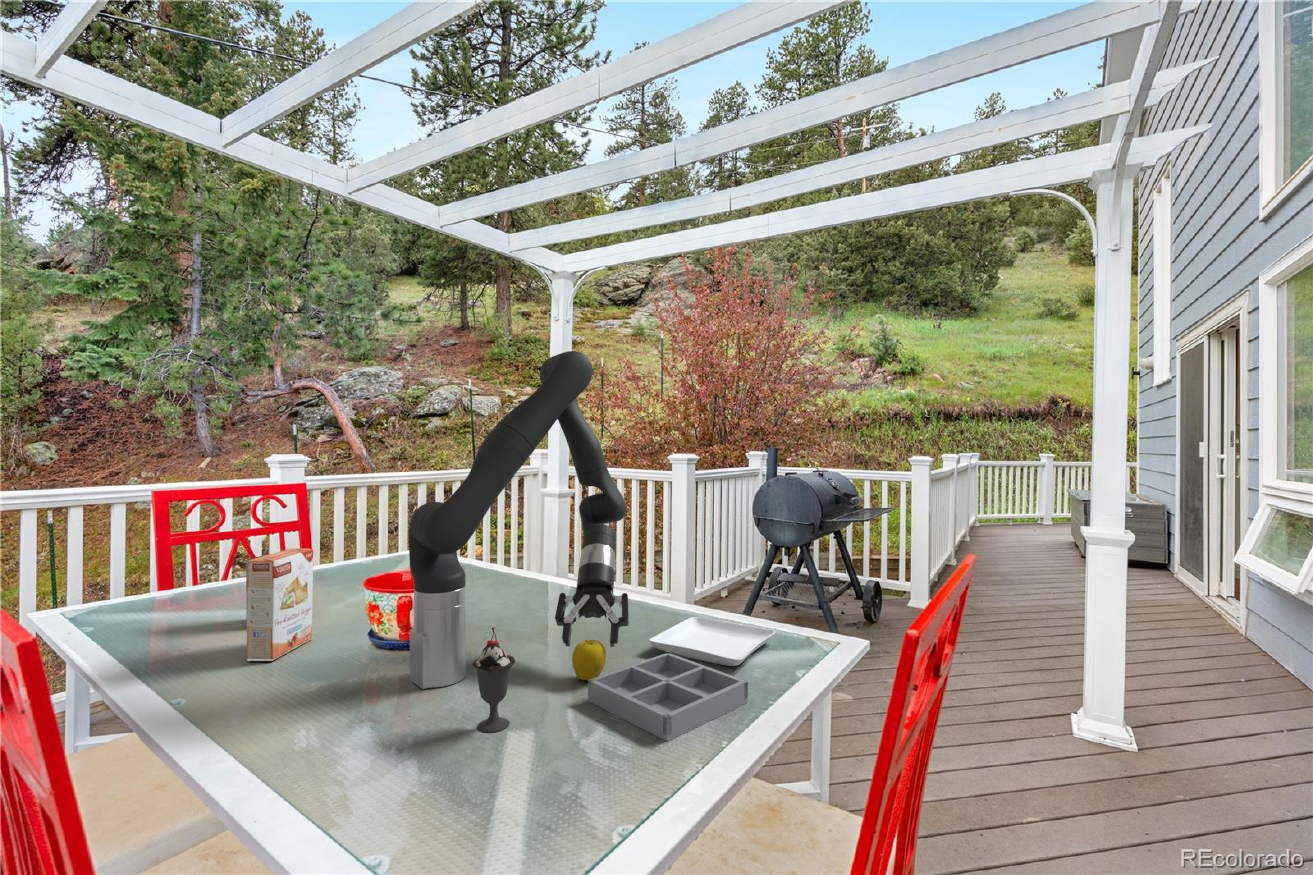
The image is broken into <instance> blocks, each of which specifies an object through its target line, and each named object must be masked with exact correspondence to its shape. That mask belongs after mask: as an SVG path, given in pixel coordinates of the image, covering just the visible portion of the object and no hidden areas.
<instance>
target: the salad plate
mask: <svg viewBox="0 0 1313 875" xmlns="http://www.w3.org/2000/svg"><path fill="white" fill-rule="evenodd" d="M775 634H776V631H775V630H772V629H769V628H762V627H758V626H757V627H756V626H752V625H747V624H740V623H738V622H737V623H736V622H730V621H726V620H725V621H724V620H719V619H718V620H717V619H712V618H706V617H699V616H691V617H689V618H687V619H684V620H683V621H681V622H679V623H677V624H675V625H673V626H672V627H669V628H667V629H665V630H663V631H661V632H660V633H657V634H656V635H655V636H653V637H651V638H649V639H648V641H649V643H650V644H651V645H652V646H653V647H655V648H656V649H658V650H659V651H662V652H665V653H671V654H673V655H676V656H679V657H682V658H685V659H687V658H688V659H692V660H697V661H701V662H706V663H710V664H711V663H712V664H716V665H722V666H729V667H735V666H739V665H741V664H742V663H743V662H744V661H745V660H746V659H747V658H748V657H749V656H751V654H753V653H754V652H755V651H756V650H757V649H759V648H760V647H762V646H763V645H765V644H767V643H768V642H769V641H770V640H771V639H772V638H773V637H774V636H775Z"/></svg>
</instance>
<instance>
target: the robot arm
mask: <svg viewBox="0 0 1313 875" xmlns="http://www.w3.org/2000/svg"><path fill="white" fill-rule="evenodd" d="M592 377H593V366H592V362H591V359H590V358H589V357H588V356H587V355H586V354H585V353H583V352H580V351H577V350H569V351H567V350H566V351H564V352H561V353H559V354H555V355H553V356H550V357H548V358H547V359H545V360H544V361H543V362H542V364H541V366H540V369H539V379H540V383H541V384H540V386H539V387H538V388H537V389H536V390H535V391H534V392H533V393H532V394H530V396H528V397H527V398H526V399H525V400H523V401H522V402H521V403H519V404H518V405H516V406H515V407H514V408H513V409H511V411H509V412H508V413H507V414H506V415H505V416H503V417H502V418H501V419H500V420H499V421H498V422H497V424H495V426H494V427H493V429H491V431H490V432H489V433H488V434H487V436H485V438H484V440H483V441H482V442H481V444H480V446H479V447H478V450H477V452H476V455H475V458H474V460H473V463H472V466H471V468H470V471H469V473H468V475H467V476H466V478H465V479H464V481H462V483H461V484H460V485H459V487H457V489H456V490H455V491H454V492H453V493H452V495H450V497H448V498H447V500H445V501H444V502H440V501H430V502H425V503H423V504H421V505H420V506H419V507H418V508H416V509H415V511H414V512H413V513H412V516H411V518H410V522H409V525H408V526H409V527H408V552H409V554H408V555H409V569H410V574H411V578H412V580H413V628H411V629H410V630H409V681H411V682H412V683H414V684H415V685H416V686H418V687H419V688H420V689H422V690H425V689H428V688H429V689H430V688H440V687H446V686H451V685H454V684H456V683H459V682H461V681H462V680H463V679H464V678H465V677H466V675H467V674H466V668H467V667H466V666H467V663H466V662H467V661H466V659H467V658H466V650H467V648H466V572H465V570H464V568H463V567H462V565H461V564H460V561H459V558H458V551H459V550H461V549H463V547H464V546H465V545H467V543H468V542H469V541H470V539H471V538H472V537H473V535H474V533H475V532H476V530H477V529H478V527H479V525H480V524H481V522H482V521H483V519H484V518H485V516H486V515H487V513H488V511H489V510H490V508H491V507H492V506H493V503H494V502H495V501H496V499H497V498H498V497H499V495H500V494H501V493H502V492H503V491H504V489H505V488H506V487H507V485H508V484H509V483H510V482H511V480H512V479H513V478H514V477H515V475H516V474H517V472H519V470H520V469H521V468H522V467H523V465H524V464H525V463H526V462H527V460H528V459H529V458H530V457H531V456H532V455H533V453H534V452H535V450H536V449H537V447H538V446H539V444H540V443H541V442H542V440H544V438H545V436H546V435H547V434H548V432H549V431H550V430H551V429H552V427H553V426H554V424H555V423H556V422H557V421H558V423H559V425H560V428H561V431H562V432H563V436H564V437H565V441H566V443H567V445H568V446H567V447H568V449H569V451H570V455H571V459H572V463H573V466H574V470H575V474H576V477H577V480H578V483H579V484H580V485H581V486H583V487H596V488H597V489H599V490H600V491H601V492H600V493H596V494H591V495H587V496H586V497H584V498H583V499H582V500H581V502H579V503H580V504H579V506H578V510H579V512H578V513H579V518H580V520H581V525H582V532H583V533H582V534H583V541H582V546H581V547H582V548H581V553H580V557H579V558H580V559H579V563H578V572H577V580H576V581H577V582H576V588H575V593H574V594H573V595H566V593H565V592H561V593H560V594H559V596H558V601H557V604H556V605H557V606H556V609H555V616H554V619H555V623H556V625H557V627H560V626H561V627H562V628H563V629H562V634H561V635H562V636H561V638H562V642H563V644H565V647H570V646H571V639H572V633H573V632H572V631H573V629H572V627H573V626H574V625H575V624H576V623H578V622H579V621H580V620H581V619H582V618H583V617H584V618H585V619H591V618H595V619H601V618H602V617H604V618H605V619H606V620H607V622H608V623H610V635H609V646H610V648H612V647H613V648H614V647H615V645H617V644H618V642H619V630H620V628H621V627H628V626H629V624H630V620H629V619H630V616H629V595H628V593H626V592H623V593H622V594H621V595H615V594H614V586H615V573H616V555H615V554H616V541H617V535H616V532H615V529H614V528H613V527H611V526H610V525H608V524H612V523H617V522H619V521H622V520H623V519H624V518H625V516H626V513H627V504H626V500H625V498H624V496H623V494H622V493H621V491H620V490H619V488H618V486H617V485H616V483H615V481H614V480H613V478H612V476H611V474H610V472H609V470H608V466H607V462H606V458H605V455H604V452H603V449H602V448H603V447H602V446H601V443H600V441H599V439H598V438H597V435H596V434H595V432H594V431H593V429H592V428H591V426H590V425H589V423H588V422H587V420H586V418H585V417H584V415H583V413H582V410H581V408H580V405H579V402H578V397H579V396H580V395H581V394H582V393H583V392H584V391H585V390H586V388H587V387H588V386H589V384H590V383H591V380H592ZM571 603H573V605H574V606H573V608H571V610H570V611H569V614H567V615H566V617H565V614H566V613H565V612H566V608H568V607H569V606H570V604H571ZM615 603H616V604H617V605H618V607H619V608H621V616H620V617H618V616H617V615H616V614H615V612H614V610H613V609H612V607H613V606H614V604H615Z"/></svg>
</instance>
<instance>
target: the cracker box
mask: <svg viewBox="0 0 1313 875" xmlns="http://www.w3.org/2000/svg"><path fill="white" fill-rule="evenodd" d="M265 555H266V556H264V555H261V556H262V557H259V556H257V557H258V558H255V559H251V558H250V559H251V560H248V590H247V598H246V660H247V659H275V658H277V657H278V656H280V655H283V654H284V653H285V652H287V651H288V650H291V649H292V648H294V647H295V646H298V645H300V644H302V643H303V642H304V641H307V640H309V639H311V638H312V639H313V590H314V588H313V586H314V585H313V584H314V581H313V580H314V579H313V577H314V576H313V575H314V549H313V548H287V549H284V550H281V551H276V552H273V553H270V554H265Z"/></svg>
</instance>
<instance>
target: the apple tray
mask: <svg viewBox="0 0 1313 875" xmlns="http://www.w3.org/2000/svg"><path fill="white" fill-rule="evenodd" d="M748 683H749V681H747V680H746V679H743V678H739V677H736V676H734V675H731V674H728V673H725V672H724V671H720V670H718V669H715V668H712V667H709V666H706V665H703V664H700V663H698V662H695V661H693V660H690V659H687V658H685V657H682V656H677V655H674V654H671V653H669V652H665V653H663V654H660V655H657V656H654V657H651V658H648V659H646V660H642V661H639V662H637V663H634V664H631V665H628V666H625V667H622V668H619V669H616V670H613V671H610V672H608V673H607V672H606V673H604V674H602V675H601V674H600V675H599V676H598V677H596V678H593V679H590V680H587V701H588V702H589V703H592V704H593V705H595V706H597V707H600V708H601V709H603V710H605V711H606V712H609V713H611V714H613V715H615V716H617V717H619V718H620V719H623V720H625V722H626V721H627V722H629V723H630V724H633V725H634V726H636V727H638V728H640V729H642V730H644V731H646V732H648V733H650V734H652V735H654V736H656V737H658V738H660V739H662V740H664V741H665V742H669V741H671V740H673V739H675V738H678V737H680V736H681V735H683V734H685V733H688V732H689V731H691V730H694V729H696V728H698V727H700V726H702V725H704V724H705V723H708V722H710V721H712V720H714V719H716V718H719V717H720V716H723V715H724V714H726V713H729V712H731V711H733V710H735V709H737V708H739V707H741V706H743V705H745V704H748V702H749V701H748V700H749V693H748V692H749V691H748Z"/></svg>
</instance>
